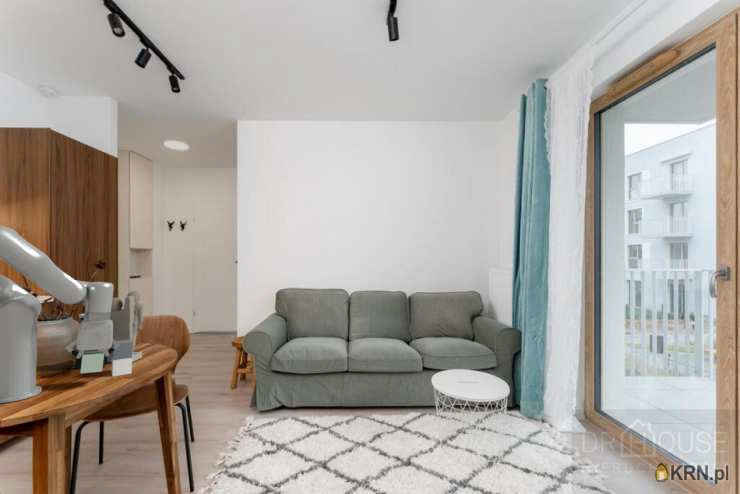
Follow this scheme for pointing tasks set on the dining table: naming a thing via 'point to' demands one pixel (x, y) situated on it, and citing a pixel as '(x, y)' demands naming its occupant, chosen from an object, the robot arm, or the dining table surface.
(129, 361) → the cream block
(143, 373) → the dining table surface
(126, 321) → the sculpture
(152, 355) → the dining table surface
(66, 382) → the dining table surface
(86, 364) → the sage block
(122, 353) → the charcoal block
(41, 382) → the dining table surface
